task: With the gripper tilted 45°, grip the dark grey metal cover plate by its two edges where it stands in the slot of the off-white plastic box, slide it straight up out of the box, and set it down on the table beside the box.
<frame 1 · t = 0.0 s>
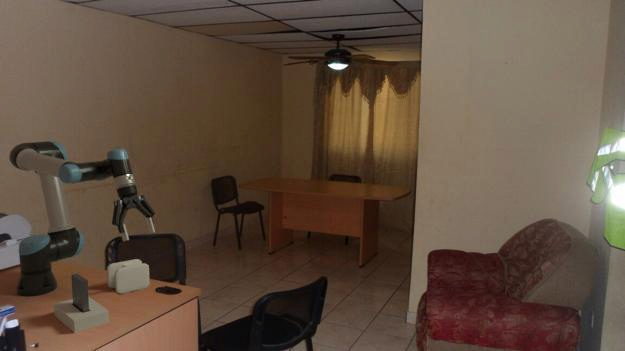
hand: (139, 236, 190), 28 cm above the table, fingers open, 13 cm apart
cable organizer: (128, 289, 208), on the table
slotted box: (81, 322, 174), on the table
cover plate: (81, 318, 174), point 1 cm above the table, touching slotted box
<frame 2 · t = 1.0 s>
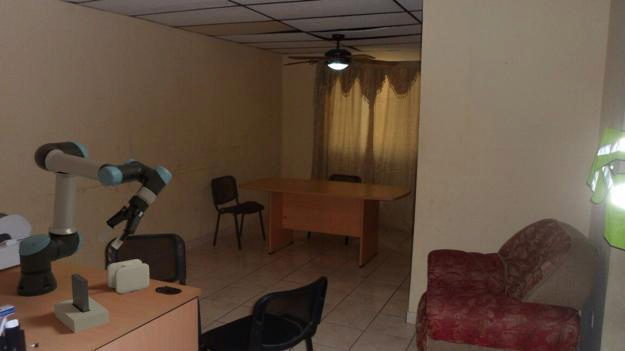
hand: (106, 244, 178), 28 cm above the table, fingers open, 13 cm apart
nothing on the table moved.
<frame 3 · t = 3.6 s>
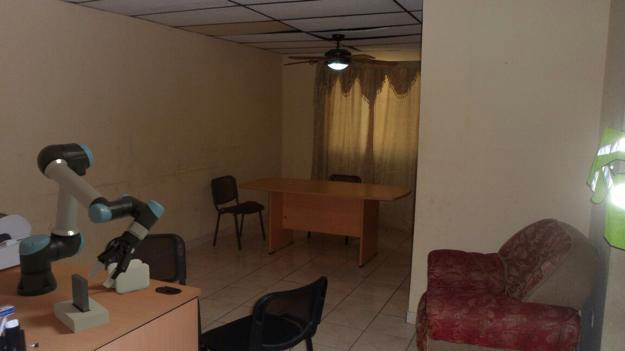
hand: (97, 281, 176), 15 cm above the table, fingers open, 13 cm apart
nothing on the table moved.
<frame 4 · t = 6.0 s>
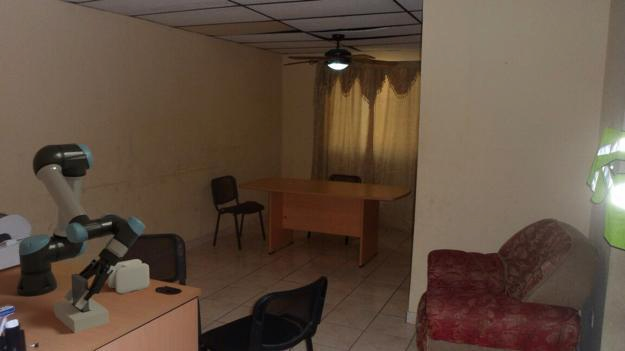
hand: (72, 303, 171), 8 cm above the table, fingers closed on cover plate, 10 cm apart
cover plate: (81, 318, 174), point 2 cm above the table, touching gripper, slotted box
everything else where it was.
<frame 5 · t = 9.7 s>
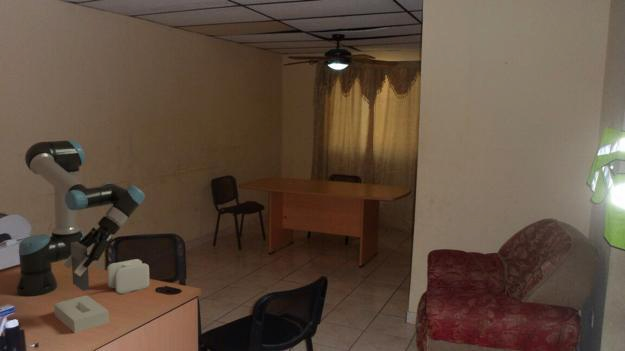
hand: (71, 270, 170), 21 cm above the table, fingers closed on cover plate, 10 cm apart
cover plate: (80, 286, 173), point 14 cm above the table, touching gripper
everything else where it was.
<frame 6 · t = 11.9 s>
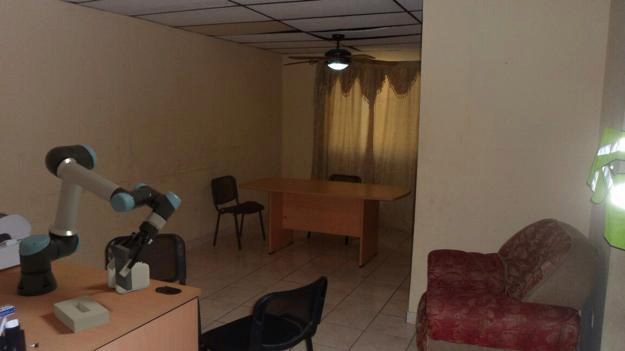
hand: (115, 271, 181), 17 cm above the table, fingers closed on cover plate, 10 cm apart
cover plate: (123, 286, 185), point 10 cm above the table, touching gripper
everything else where it was.
when the fingers open (9 cm above the table, at t = 13.7 s): cover plate drops 2 cm, on the table.
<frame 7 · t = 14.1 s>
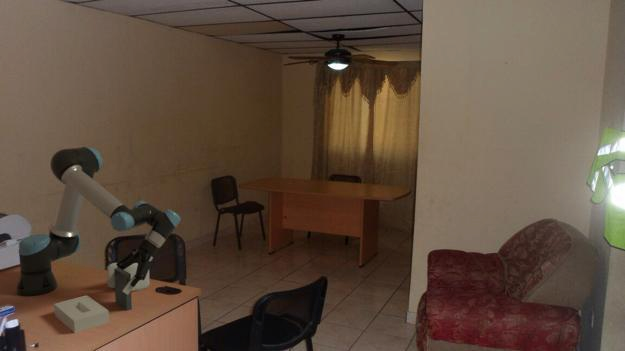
hand: (116, 288, 183), 10 cm above the table, fingers open, 13 cm apart
cover plate: (123, 309, 186), on the table
everything else where it was.
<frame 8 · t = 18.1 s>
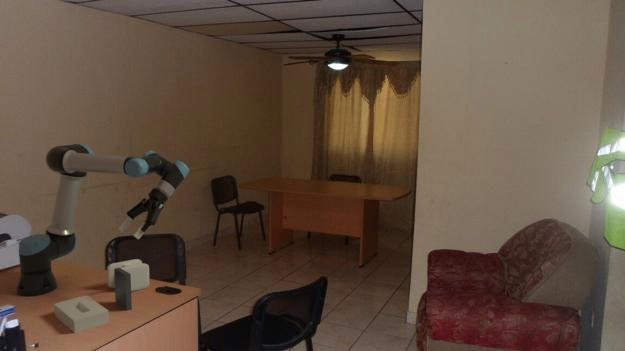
hand: (127, 234, 187), 30 cm above the table, fingers open, 13 cm apart
nothing on the table moved.
at the end: cover plate moved 16.2 cm from its start; cover plate touching table; the gripper is holding nothing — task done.
